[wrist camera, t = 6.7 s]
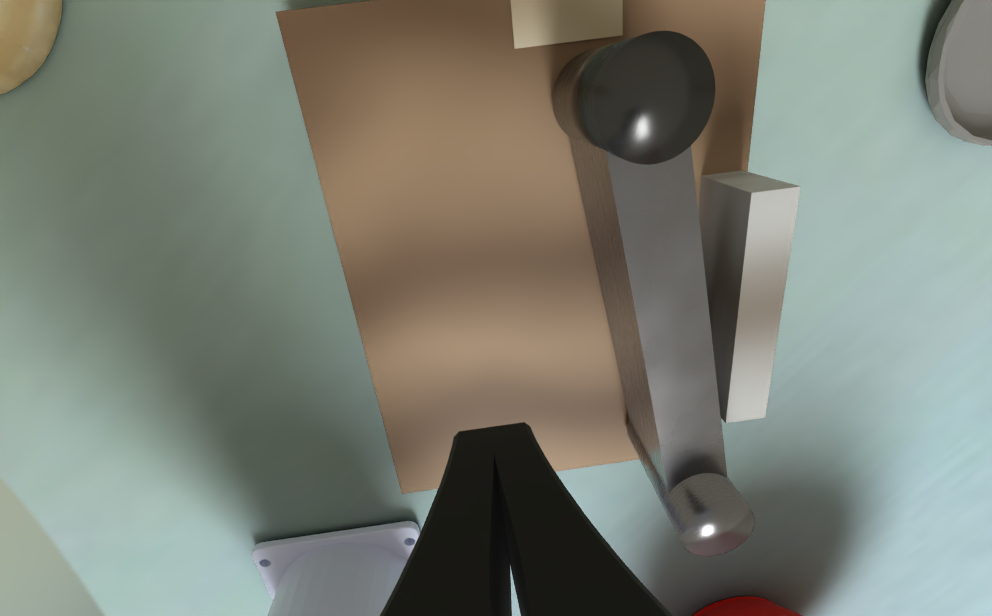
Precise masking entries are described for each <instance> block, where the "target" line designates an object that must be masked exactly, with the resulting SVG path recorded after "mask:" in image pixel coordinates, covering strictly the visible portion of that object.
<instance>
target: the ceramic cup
mask: <svg viewBox="0 0 992 616" xmlns="http://www.w3.org/2000/svg"><path fill="white" fill-rule="evenodd" d="M693 616H802V615H800V614H798V613H796V612H793V611H791V610H789V609H786V608H783V607H781V606H778V605H776V604H775V603H773V602H771V601H769V600H767V599H764V598H760V597H753V596H743V597H734V598H729V599H725V600H721V601H718V602H715V603H713V604H711V605H709V606H706V607H705V608H703V609H701V610H700V611H698V612H696V613H695V614H694V615H693Z"/></svg>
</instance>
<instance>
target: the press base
mask: <svg viewBox="0 0 992 616" xmlns="http://www.w3.org/2000/svg"><path fill="white" fill-rule="evenodd" d="M765 2H766V0H372V1H363V2H355V3H346V4H338V5H329V6H321V7H312V8H304V9H296V10H287V11H279V12H276V15H277V19H278V23H279V27H280V30H281V34H282V38H283V42H284V46H285V50H286V53H287V57H288V61H289V65H290V69H291V72H292V76H293V80H294V84H295V88H296V91H297V95H298V99H299V103H300V107H301V110H302V114H303V118H304V122H305V126H306V130H307V133H308V137H309V141H310V145H311V149H312V152H313V156H314V160H315V164H316V168H317V171H318V175H319V179H320V183H321V187H322V190H323V194H324V198H325V202H326V206H327V210H328V213H329V217H330V221H331V225H332V229H333V232H334V236H335V240H336V244H337V248H338V251H339V255H340V259H341V263H342V267H343V270H344V274H345V278H346V282H347V286H348V289H349V293H350V297H351V301H352V305H353V309H354V312H355V316H356V320H357V324H358V328H359V331H360V335H361V339H362V343H363V347H364V350H365V354H366V358H367V362H368V366H369V369H370V373H371V377H372V381H373V385H374V389H375V392H376V396H377V400H378V404H379V408H380V411H381V415H382V419H383V423H384V427H385V430H386V434H387V438H388V442H389V446H390V449H391V453H392V457H393V461H394V465H395V469H396V472H397V476H398V480H399V484H400V488H401V491H402V494H403V493H410V492H417V491H424V490H431V489H438V488H439V486H440V483H441V480H442V477H443V474H444V471H445V468H446V465H447V462H448V459H449V455H450V451H451V447H452V443H453V438H454V436H455V435H456V434H457V433H458V432H459V431H465V430H472V429H479V428H486V427H493V426H500V425H507V424H514V423H521V422H525V423H526V424H528V425H529V426H530V427H531V429H532V431H533V434H534V436H535V438H536V440H537V442H538V444H539V446H540V448H541V449H542V451H543V453H544V455H545V456H546V458H547V460H548V461H549V463H550V465H551V466H552V468H553V469H554V471H562V470H569V469H575V468H582V467H589V466H596V465H603V464H610V463H617V462H624V461H631V460H637V459H639V457H638V455H637V453H636V451H635V449H634V447H633V445H632V443H631V441H630V439H629V437H628V435H627V424H628V421H629V417H628V412H627V407H626V402H625V398H624V393H623V388H622V384H621V379H620V374H619V370H618V365H617V360H616V356H615V351H614V346H613V341H612V337H611V332H610V327H609V323H608V318H607V313H606V309H605V304H604V299H603V294H602V290H601V285H600V280H599V276H598V271H597V266H596V262H595V257H594V252H593V248H592V243H591V238H590V233H589V229H588V224H587V219H586V215H585V210H584V205H583V201H582V196H581V191H580V187H579V182H578V177H577V172H576V168H575V163H574V158H573V154H572V149H571V144H570V140H569V136H568V135H567V134H566V133H565V132H564V131H563V130H562V129H561V128H560V126H559V124H558V123H557V121H556V118H555V115H554V112H553V106H552V96H553V89H554V85H555V82H556V80H557V78H558V76H559V74H560V72H561V71H562V69H563V68H564V67H565V65H566V64H567V63H568V62H569V61H570V60H572V59H573V58H574V57H576V56H578V55H579V54H581V53H584V52H586V51H590V50H593V49H596V48H599V47H603V46H606V45H609V44H613V43H616V42H619V41H623V40H626V39H629V38H632V37H636V36H639V35H642V34H646V33H650V32H654V31H673V32H677V33H681V34H683V35H685V36H687V37H689V38H691V39H692V40H694V41H695V42H696V43H697V44H698V45H699V46H700V47H701V48H702V49H703V50H704V52H705V53H706V55H707V57H708V58H709V60H710V63H711V65H712V68H713V72H714V77H715V100H714V105H713V109H712V112H711V115H710V118H709V120H708V122H707V125H706V126H705V128H704V130H703V131H702V133H701V134H700V136H699V137H698V138H697V140H696V141H695V142H694V143H693V144H692V145H691V149H692V158H693V168H694V177H695V186H696V195H697V204H698V214H699V223H700V232H701V241H702V250H703V260H704V269H705V278H706V287H707V296H708V306H709V315H710V324H711V333H712V342H713V352H714V361H715V370H716V379H717V388H718V398H719V407H720V416H721V418H722V419H723V420H724V422H725V423H731V422H738V421H745V420H752V419H759V418H765V415H766V408H767V402H768V395H769V389H770V382H771V376H772V369H773V363H774V356H775V350H776V343H777V337H778V330H779V324H780V317H781V311H782V304H783V298H784V291H785V285H786V278H787V272H788V265H789V259H790V252H791V246H792V239H793V233H794V226H795V220H796V213H797V207H798V200H799V194H800V186H797V185H793V184H789V183H786V182H782V181H779V180H775V179H771V178H768V177H764V176H760V175H757V174H753V173H749V172H747V171H748V161H749V152H750V143H751V133H752V124H753V114H754V105H755V96H756V86H757V77H758V67H759V58H760V49H761V39H762V30H763V20H764V11H765Z"/></svg>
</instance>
